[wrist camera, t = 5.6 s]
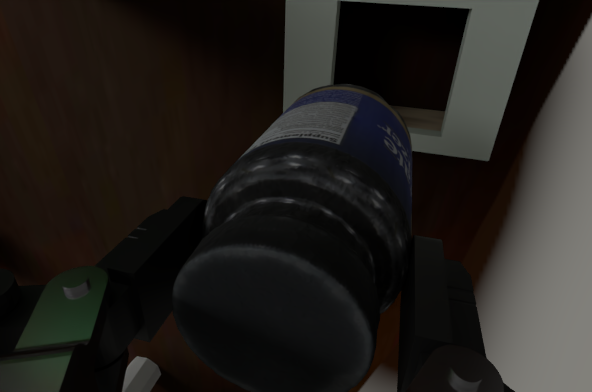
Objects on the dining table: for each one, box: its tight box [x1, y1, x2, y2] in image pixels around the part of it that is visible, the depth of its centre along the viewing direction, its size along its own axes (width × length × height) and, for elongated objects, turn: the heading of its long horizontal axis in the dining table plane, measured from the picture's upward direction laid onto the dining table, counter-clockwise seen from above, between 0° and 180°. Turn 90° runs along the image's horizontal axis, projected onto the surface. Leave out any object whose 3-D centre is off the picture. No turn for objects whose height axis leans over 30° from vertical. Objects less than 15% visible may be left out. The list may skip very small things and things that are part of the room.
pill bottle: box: [172, 84, 412, 392], centre depth 13 cm, size 6×6×11 cm
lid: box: [283, 0, 539, 161], centre depth 21 cm, size 14×18×5 cm
